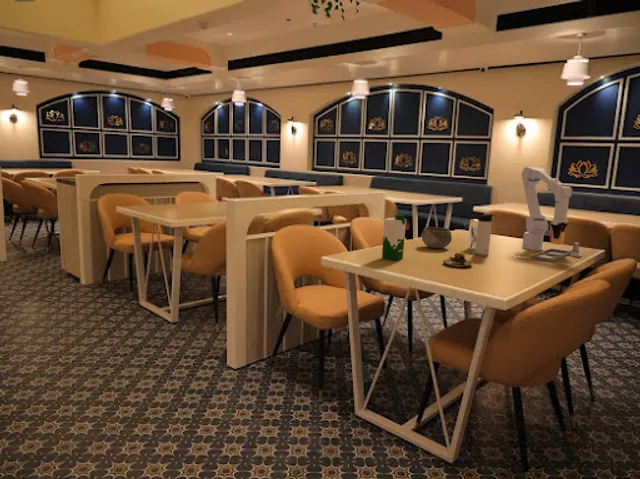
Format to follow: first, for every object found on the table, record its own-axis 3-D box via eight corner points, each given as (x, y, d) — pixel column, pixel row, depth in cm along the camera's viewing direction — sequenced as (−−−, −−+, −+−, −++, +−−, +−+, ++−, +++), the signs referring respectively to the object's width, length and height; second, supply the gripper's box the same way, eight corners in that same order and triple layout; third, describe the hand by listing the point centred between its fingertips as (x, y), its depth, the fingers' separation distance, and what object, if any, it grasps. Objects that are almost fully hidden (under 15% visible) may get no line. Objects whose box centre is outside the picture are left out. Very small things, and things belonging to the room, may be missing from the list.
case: (539, 255, 245) (540, 252, 245) (550, 251, 258) (550, 248, 257) (561, 259, 239) (561, 255, 238) (570, 255, 251) (571, 251, 251)
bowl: (416, 245, 260) (417, 226, 258) (442, 245, 264) (443, 226, 263) (429, 250, 247) (431, 230, 245) (456, 250, 251) (458, 230, 250)
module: (551, 243, 247) (552, 230, 246) (553, 242, 250) (555, 229, 249) (560, 244, 244) (562, 231, 243) (563, 243, 247) (565, 230, 246)
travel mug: (489, 256, 237) (494, 215, 234) (475, 255, 238) (479, 214, 235) (488, 254, 243) (492, 213, 240) (474, 253, 245) (478, 212, 241)
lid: (531, 259, 236) (531, 255, 236) (540, 255, 246) (540, 252, 245) (553, 262, 230) (554, 259, 229) (561, 259, 239) (562, 255, 239)
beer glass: (464, 247, 259) (467, 219, 257) (474, 247, 262) (477, 218, 260) (473, 250, 253) (476, 221, 251) (484, 249, 256) (487, 220, 254)
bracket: (568, 256, 247) (568, 250, 246) (570, 255, 250) (571, 249, 250) (578, 258, 244) (579, 252, 243) (581, 256, 247) (581, 250, 247)
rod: (571, 256, 247) (572, 242, 246) (572, 255, 249) (574, 242, 248) (576, 257, 245) (578, 243, 244) (578, 256, 247) (579, 242, 246)
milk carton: (398, 261, 217) (401, 216, 213) (379, 258, 221) (381, 214, 218) (405, 258, 224) (408, 214, 221) (386, 255, 228) (389, 212, 225)
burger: (437, 263, 218) (439, 246, 216) (460, 262, 222) (461, 246, 221) (454, 269, 207) (455, 252, 205) (477, 268, 211) (479, 251, 210)
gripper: (565, 212, 236) (561, 240, 239) (573, 210, 247) (570, 237, 250) (549, 210, 241) (546, 238, 243) (558, 209, 252) (555, 235, 254)
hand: (557, 238), depth 247 cm, fingers closed on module, 4 cm apart
